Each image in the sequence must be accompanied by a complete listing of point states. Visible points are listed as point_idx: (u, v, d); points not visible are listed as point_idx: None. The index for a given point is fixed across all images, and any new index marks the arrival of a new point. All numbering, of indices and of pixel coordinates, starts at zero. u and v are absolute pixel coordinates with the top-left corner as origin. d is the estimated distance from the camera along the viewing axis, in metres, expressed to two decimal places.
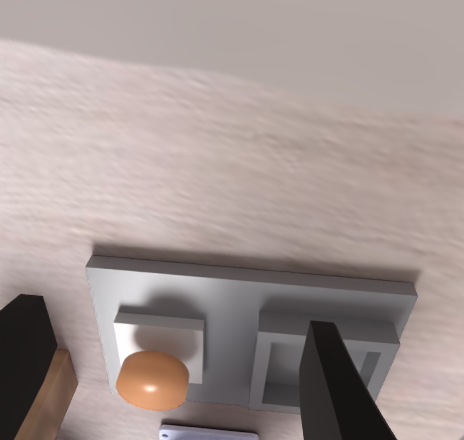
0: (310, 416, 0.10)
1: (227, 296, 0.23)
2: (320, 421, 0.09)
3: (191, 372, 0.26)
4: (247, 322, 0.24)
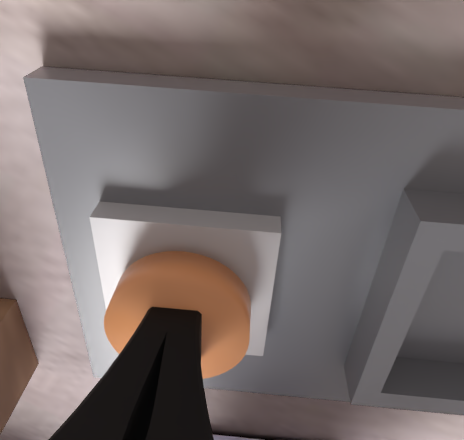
0: None
1: (340, 151, 0.10)
2: None
3: None
4: (371, 219, 0.11)
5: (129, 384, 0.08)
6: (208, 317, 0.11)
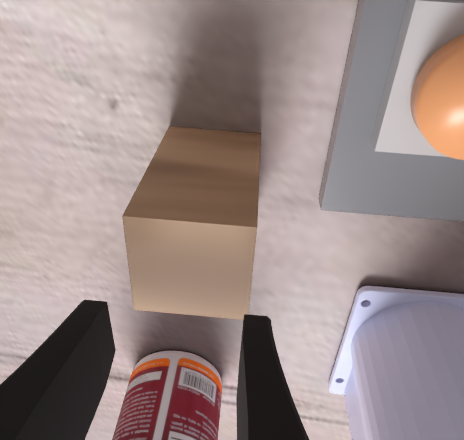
0: (239, 409, 0.10)
1: None
2: (242, 413, 0.09)
3: None
4: None
5: (41, 375, 0.08)
6: None
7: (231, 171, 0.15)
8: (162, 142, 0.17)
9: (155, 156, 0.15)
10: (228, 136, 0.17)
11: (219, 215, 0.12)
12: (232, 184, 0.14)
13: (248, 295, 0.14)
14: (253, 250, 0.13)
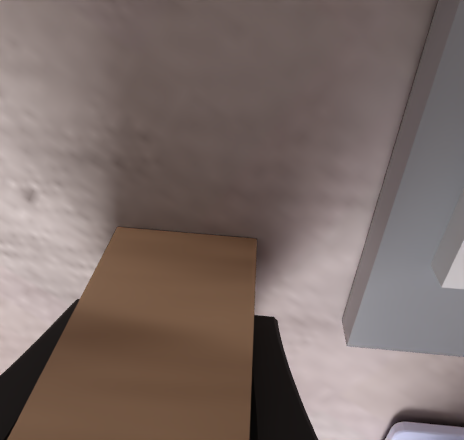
0: None
1: None
2: (250, 414, 0.09)
3: None
4: None
5: (32, 374, 0.08)
6: None
7: (205, 341, 0.09)
8: (99, 266, 0.10)
9: (80, 303, 0.09)
10: (206, 247, 0.11)
11: None
12: (204, 380, 0.08)
13: None
14: None
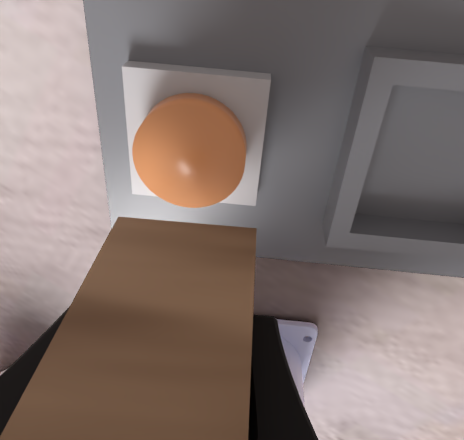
0: None
1: (317, 11, 0.14)
2: (250, 414, 0.09)
3: (240, 181, 0.17)
4: (341, 75, 0.15)
5: (32, 374, 0.08)
6: (214, 140, 0.14)
7: (206, 325, 0.09)
8: (100, 254, 0.10)
9: (82, 289, 0.09)
10: (207, 237, 0.11)
11: None
12: (205, 362, 0.08)
13: None
14: None
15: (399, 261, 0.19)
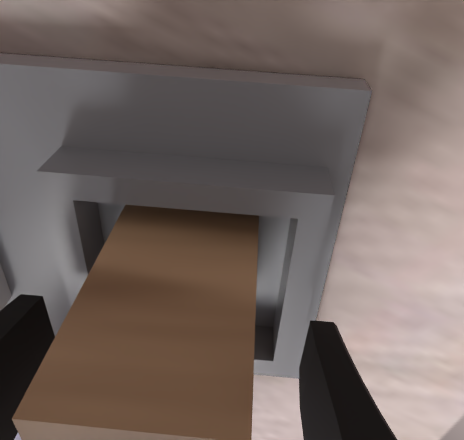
0: (310, 416, 0.10)
1: None
2: (320, 421, 0.09)
3: None
4: None
5: None
6: None
7: (213, 293, 0.09)
8: (113, 231, 0.11)
9: (97, 261, 0.10)
10: (212, 216, 0.12)
11: (185, 409, 0.07)
12: (212, 324, 0.09)
13: None
14: None
15: None
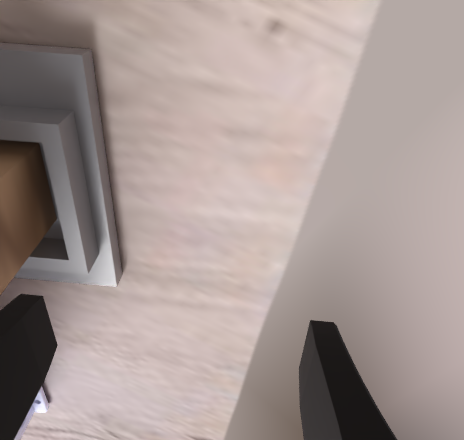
0: (310, 416, 0.10)
1: None
2: (320, 421, 0.09)
3: None
4: None
5: None
6: None
7: None
8: None
9: None
10: (0, 146, 0.17)
11: None
12: None
13: None
14: None
15: (35, 271, 0.22)
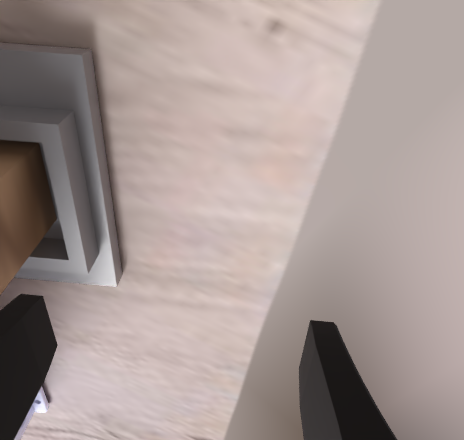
0: (310, 416, 0.10)
1: None
2: (320, 421, 0.09)
3: None
4: None
5: None
6: None
7: None
8: None
9: None
10: (0, 146, 0.17)
11: None
12: None
13: None
14: None
15: (35, 271, 0.22)
